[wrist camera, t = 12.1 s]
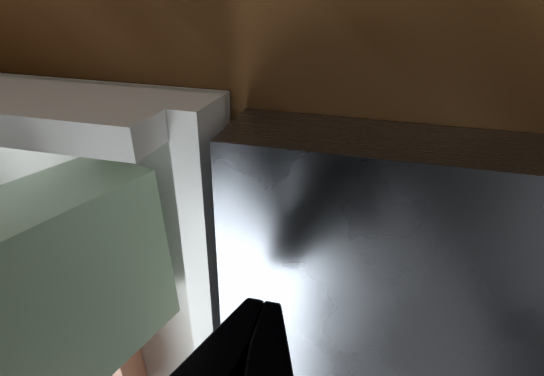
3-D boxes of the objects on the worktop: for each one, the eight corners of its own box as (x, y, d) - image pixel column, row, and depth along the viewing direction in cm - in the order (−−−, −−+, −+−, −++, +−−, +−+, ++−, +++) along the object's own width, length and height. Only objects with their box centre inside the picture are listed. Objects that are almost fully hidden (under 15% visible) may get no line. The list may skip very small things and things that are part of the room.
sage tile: (11, 472, 8) (-42, 409, 10) (180, 310, 13) (128, 282, 14) (-118, 296, 6) (-167, 243, 7) (154, 170, 10) (93, 152, 12)
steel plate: (541, 479, 15) (579, 574, 13) (247, 408, 18) (229, 476, 15) (817, 157, 8) (1043, 228, 5) (245, 108, 10) (209, 140, 8)
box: (238, 411, 18) (211, 505, 15) (60, 367, 20) (0, 442, 17) (229, 90, 10) (166, 131, 7) (-65, 67, 12) (-234, 90, 9)
